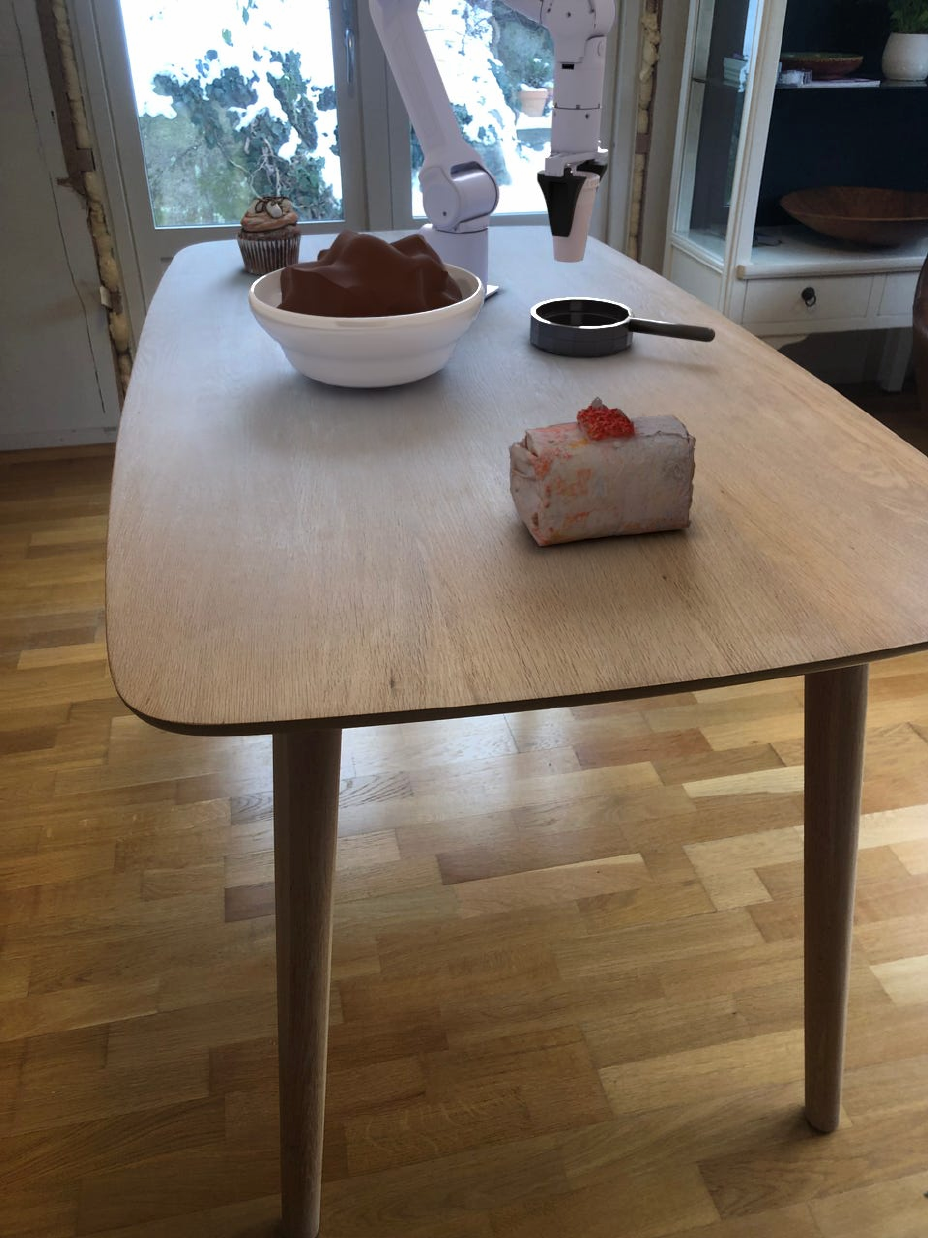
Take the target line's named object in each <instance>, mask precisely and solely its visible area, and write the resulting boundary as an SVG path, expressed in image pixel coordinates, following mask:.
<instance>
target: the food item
mask: <svg viewBox="0 0 928 1238" xmlns="http://www.w3.org/2000/svg"><path fill="white" fill-rule="evenodd" d="M524 434H525V435H524V437H523V438H522V439H521V441H520V442H519V441H514V442H513V443H512V444H511V445H509V446H508V450H509V460H510V461H509V484H510V485H509V486H510V487H509V492H510V494H511V497H512V501H513V504H514V507H515V510H516V513H517V515H518V517H519V519H520V520H521V521H522V522H523V523H524V525H525V527H526V528H527V530H528V532H529V533H530V535H531V536H532V537H533V539H534V540H535V541H536V543H537V544H538V546H539V547H545V546H550V545H557V544H565V543H569V542H576V541H580V540H585V539H598V538H606V537H608V538H609V537H611V536H617V537H618V536H624V535H626V536H627V535H640V534H647V533H656V532H663V531H674V530H684V529H690V527H691V524H692V520H690V509H691V508H692V505H693V495H694V489H695V488H694V487H695V485H694V483H693V480H694V478H695V473H696V472H695V471H696V462H695V450H696V448H695V446H696V443H697V442H696V441H697V439H696V437H695V436H694V435H691V434H690V432H689V431H688V429H687V427H686V425H685V424H684V423H683V422H682V421H680V419H679V418H678V417H677V416H675V415H674V414H658V415H652V416H649V415H648V416H637V417H629V416H628V415H627V414H626V413H625V412H624V411H623V410H622V409H621V408H618V407H615V408H614V407H613V408H609V407H608V406H607V405H606V404H605V403H604V404H603V400H602V399H601V398H600V397H599V396H596V397H595V398H594V399H593V400H592V401H591V403H590V405H588V406H587V407H586V408H584V409H581V410H578V411H577V414H576V421H572V422H562V423H556V424H551V425H547V426H546V427H537V428H527V429H525V430H524Z"/></svg>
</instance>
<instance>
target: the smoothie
mask: <svg viewBox="0 0 928 1238" xmlns="http://www.w3.org/2000/svg"><path fill="white" fill-rule="evenodd" d="M576 167H577V166H575V167H573V168H572V171H571V173H573V175H574V176H586V177H587V178H586V180H585V182H584V184H583V186H582V188H581V191H580V193H579V197H578V200H577V204H576V208H575V213H574V219H573V225H572V229H571V233H570V235H569V237H559V236H552V248H553V249H552V250H553V251H552V252H553V260H554V261H556V262H560V263H565V264H566V263H567V264H569V263H570V264H571V263H573V264H574V263H580V262H582V261H584V258H585V252H586V246H587V242H588V235H589V230H590V226H591V220H592V215H593V209H594V204H595V199H596V194H597V191H596V189H597V190H598V188H599V187H600V185H601V181H600V176H599V175H597V174H595V173H590V172H581V171H576ZM599 181H600V183H599ZM597 187H598V188H597Z"/></svg>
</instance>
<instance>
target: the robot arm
mask: <svg viewBox="0 0 928 1238" xmlns="http://www.w3.org/2000/svg"><path fill="white" fill-rule="evenodd" d="M421 1H422V0H368V9H369V10H368V11H369V13H370V17H371V20H372V23H373V26H374V28H375V31H376V33H377V36H378V39H379V42H380V44H381V46H382V49H383V52H384V55H385V57H386V60H387V62H388V65H389V68H390V70H391V73H392V75H393V77H394V81H395V83H396V86H397V88H398V91H399V94H400V96H401V99H402V102H403V104H404V107H405V110H406V112H407V115H408V117H409V120H410V123H411V125H412V129H413V130H414V133H415V136H416V138H417V141H418V143H419V146H420V149H421V151H422V152H421V153H422V155H423V157H424V158H423V159H424V160H423V162H422V165H421V167H420V170H419V172H418V175H417V179H418V181H419V184H420V187H421V193H422V208H423V211H424V213H425V216H426V218H427V220H429V222H430V223H425V224H424V225H422V226H421V227H420V229H419V230H418V233H417V234H420V235H422V236H424V238H425V240H426V242H427V243H428V244H430V246H431V247H432V248H433V249H434V251H435V252H436V253H437V254H438V255H439V257H440V259H441V261H442V263H447V264H450V265H454V266H457V267H460V268H463V269H465V270H467V271H469V272H471V273H473V274H474V275H476V276H477V277H478V278H479V279H480V281H481V282H482V284H483V287H484V290H485V297H484V300H485V299H487V298H489V297H490V296H492V295H494V294H495V293H497V292H498V291H499V289H500V288H499V286H495V285H489V224H491V215H492V214H493V213H494V212H495V211H496V209H497V207H498V204H499V201H500V188H499V187H500V186H499V184H498V181H497V178H496V177H495V176H494V174H493V173H492V172H491V171H490V170H489V169H488V168H487V166H486V164H485V163H484V161H483V158H482V155H481V154H480V152H479V151H477V150H476V149H475V148H473V147H472V146H471V145H470V144H469V143H467V141H465V139H464V136H463V133H462V130H461V127H460V126H459V123H458V120H457V117H456V114H455V111H454V109H453V105H452V104H451V100H450V98H449V95H448V92H447V90H446V87H445V85H444V81H443V79H442V76H441V74H440V71H439V68H438V65H437V63H436V60H435V57H434V55H433V51H432V49H431V46H430V44H429V41H428V38H427V36H426V33H425V31H424V30H425V29H424V27H423V24H422V22H421V19H420V16H419V13H418V10H419V7H420V4H421ZM501 2H502V3H503V5H504V6H506V7H508V8H509V9H511V10H513V11H515V12H517V13H518V14H520V15H522V16H524V17H526V18H527V19H529V20H531V21H533V22H534V23H537V24H538V25H540V26H542V27H543V28H546V29H547V30H548V32H549V34H550V36H551V38H552V41H553V56H554V66H553V84H552V85H553V86H552V106H551V111H552V112H551V125H550V126H551V127H550V128H551V129H550V147H548V153H547V156H545V157H544V161H545V162H544V169H542V170H540V171H538V172H537V173H536V181H537V183H538V186H539V188H540V189H541V192H542V194H543V198H544V202H545V204H546V210H547V214H548V215H547V216H548V222H549V228H550V233H551V236H552V237H553V236H559V237H569V235H570V233H571V229H572V225H573V219H574V213H575V208H576V204H577V200H578V197H579V193H580V191H581V188H582V186H583V184H584V182H585V180H586V178H587V177H586V176H574V175H573V173H571V171H572V168H573V167H575V166H577V167H576V171H581V172H590V173H595V174H597V175H599V176H600V181H599V183H600V184H601V181H602V179H603V178H604V176H605V174H606V172H607V170H608V167H609V165H608V162H606V161H599V160H598V159H605V158H607V157H609V149H605V148H601V144H602V141H601V140H600V135H601V134H600V133H601V122H602V108H603V95H604V81H605V68H606V54H607V53H606V51H607V39H608V36H609V35H610V34H611V33H612V31H613V29H615V26H616V23H617V18H618V3H617V0H501ZM596 160H598V161H596ZM598 188H599V186H598V187H597V189H596V192H597V191H598Z"/></svg>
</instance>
